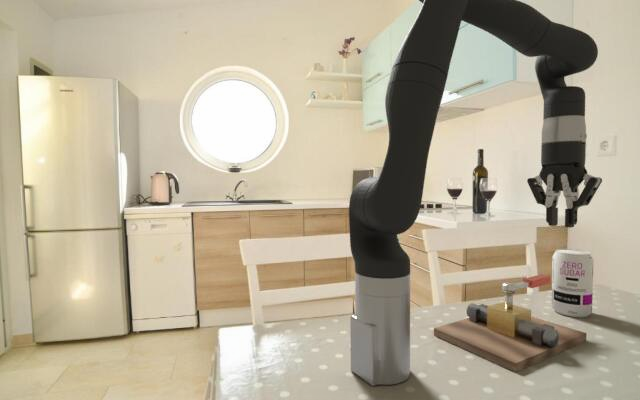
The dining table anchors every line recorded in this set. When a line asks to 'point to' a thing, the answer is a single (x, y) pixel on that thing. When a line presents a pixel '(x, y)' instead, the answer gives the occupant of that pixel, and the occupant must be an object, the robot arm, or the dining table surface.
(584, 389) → the dining table surface
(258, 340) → the dining table surface
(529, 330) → the pipe valve
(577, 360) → the dining table surface
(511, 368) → the valve board
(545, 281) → the valve lever
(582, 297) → the supplement can
